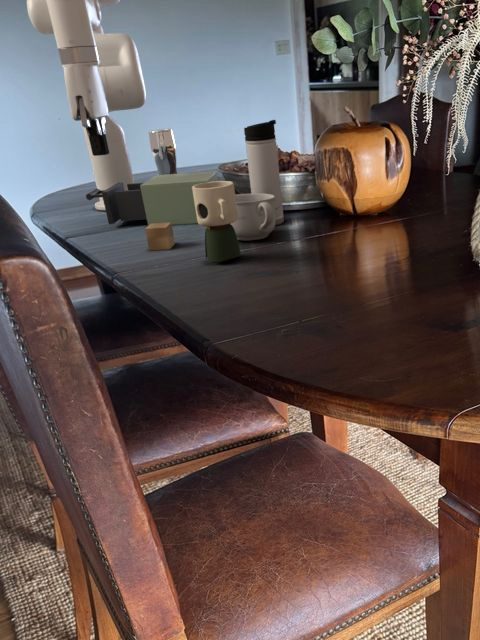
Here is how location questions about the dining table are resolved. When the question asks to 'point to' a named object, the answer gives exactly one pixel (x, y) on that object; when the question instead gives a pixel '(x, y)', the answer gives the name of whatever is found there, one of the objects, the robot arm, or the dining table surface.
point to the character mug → (217, 218)
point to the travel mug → (264, 163)
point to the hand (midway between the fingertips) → (101, 154)
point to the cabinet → (173, 197)
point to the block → (160, 236)
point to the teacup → (254, 216)
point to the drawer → (121, 202)
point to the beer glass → (163, 151)
